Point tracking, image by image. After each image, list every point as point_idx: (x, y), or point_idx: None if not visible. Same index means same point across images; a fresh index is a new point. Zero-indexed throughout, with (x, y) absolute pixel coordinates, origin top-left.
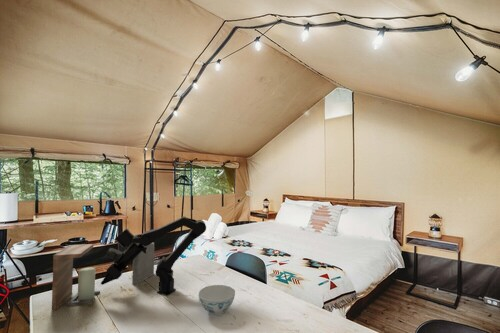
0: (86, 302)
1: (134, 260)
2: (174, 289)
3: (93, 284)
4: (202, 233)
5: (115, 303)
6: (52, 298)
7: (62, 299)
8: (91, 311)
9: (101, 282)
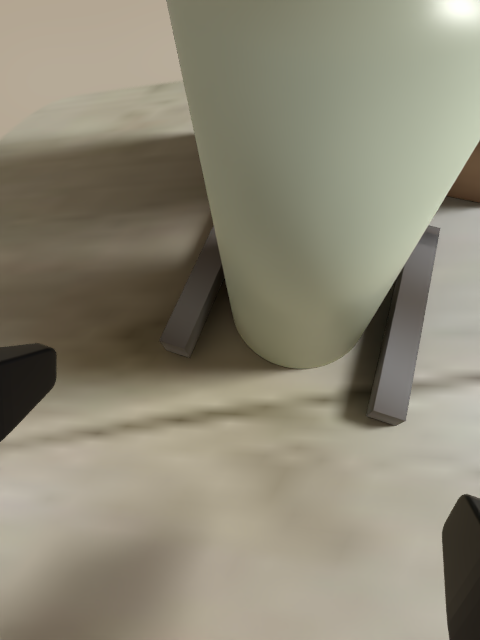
0: (182, 299)
1: None
2: None
3: (254, 282)
4: None
5: (18, 561)
6: None
7: None
8: (21, 340)
9: (12, 350)
